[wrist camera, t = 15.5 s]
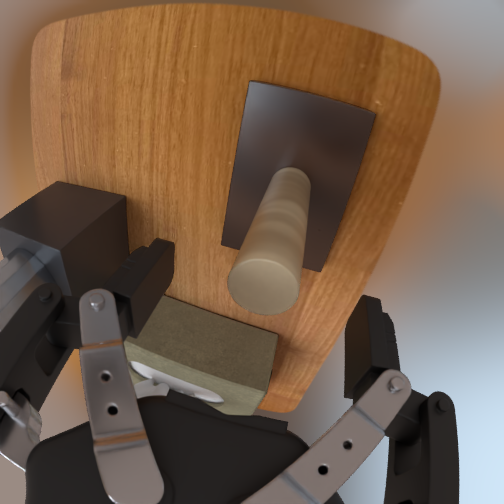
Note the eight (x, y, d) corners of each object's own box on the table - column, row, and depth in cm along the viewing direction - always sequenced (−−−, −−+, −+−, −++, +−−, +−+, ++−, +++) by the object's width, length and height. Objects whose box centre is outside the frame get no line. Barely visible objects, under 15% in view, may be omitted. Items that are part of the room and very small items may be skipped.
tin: (13, 233, 20) (-41, 280, 14) (68, 287, 21) (19, 347, 16) (9, 275, 24) (-32, 318, 18) (56, 321, 25) (19, 371, 20)
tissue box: (281, 334, 33) (252, 467, 20) (259, 376, 39) (231, 483, 26) (128, 279, 34) (53, 383, 21) (131, 329, 39) (76, 420, 26)
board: (253, 79, 20) (249, 80, 19) (372, 111, 19) (376, 113, 18) (225, 236, 28) (220, 245, 27) (321, 263, 27) (320, 273, 26)
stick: (289, 158, 21) (259, 245, 11) (319, 186, 22) (314, 293, 12) (262, 185, 23) (213, 285, 13) (291, 211, 23) (264, 325, 14)
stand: (57, 181, 28) (-7, 223, 20) (126, 195, 28) (59, 250, 19) (68, 252, 34) (20, 301, 26) (131, 274, 33) (84, 335, 25)
